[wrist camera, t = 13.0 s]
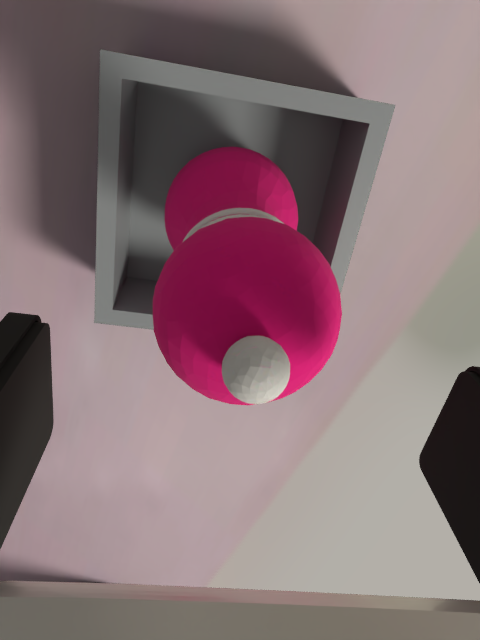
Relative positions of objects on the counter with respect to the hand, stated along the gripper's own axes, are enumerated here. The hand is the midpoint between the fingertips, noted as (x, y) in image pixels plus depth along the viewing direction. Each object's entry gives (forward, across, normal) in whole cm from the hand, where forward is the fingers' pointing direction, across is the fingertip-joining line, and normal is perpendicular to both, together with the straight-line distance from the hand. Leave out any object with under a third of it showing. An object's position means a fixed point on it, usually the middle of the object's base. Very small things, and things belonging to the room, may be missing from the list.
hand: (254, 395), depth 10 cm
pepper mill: (+21, 0, +1) cm, 21 cm away
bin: (+22, 0, +1) cm, 22 cm away
